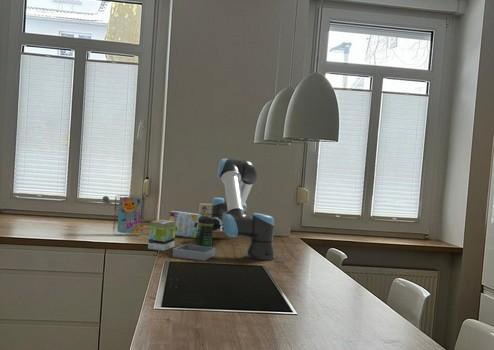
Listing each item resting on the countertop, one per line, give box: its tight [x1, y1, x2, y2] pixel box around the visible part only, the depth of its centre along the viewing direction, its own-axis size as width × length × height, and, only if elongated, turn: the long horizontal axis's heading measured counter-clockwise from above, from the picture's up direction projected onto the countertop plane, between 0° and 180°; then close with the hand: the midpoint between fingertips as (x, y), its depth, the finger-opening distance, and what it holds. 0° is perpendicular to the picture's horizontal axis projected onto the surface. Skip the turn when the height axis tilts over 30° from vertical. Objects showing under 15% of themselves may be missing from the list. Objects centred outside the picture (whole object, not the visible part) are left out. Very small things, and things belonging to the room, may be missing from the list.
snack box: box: [168, 210, 202, 239], centre depth 329 cm, size 21×6×15 cm, turn 65°
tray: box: [172, 243, 217, 262], centre depth 266 cm, size 17×17×4 cm
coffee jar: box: [196, 215, 213, 247], centre depth 285 cm, size 10×8×19 cm
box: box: [102, 194, 146, 237], centre depth 312 cm, size 25×6×24 cm, turn 113°
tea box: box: [147, 219, 176, 252], centre depth 281 cm, size 15×10×15 cm
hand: (209, 228), depth 300 cm, fingers open, 13 cm apart
